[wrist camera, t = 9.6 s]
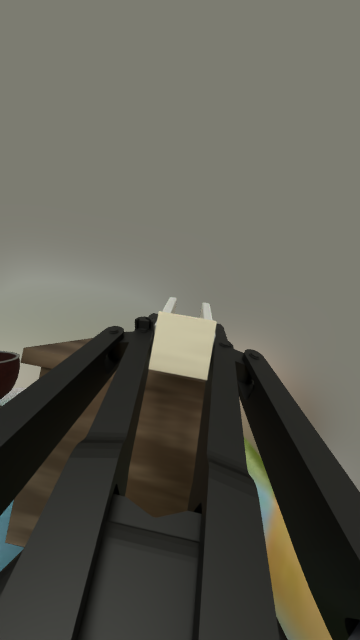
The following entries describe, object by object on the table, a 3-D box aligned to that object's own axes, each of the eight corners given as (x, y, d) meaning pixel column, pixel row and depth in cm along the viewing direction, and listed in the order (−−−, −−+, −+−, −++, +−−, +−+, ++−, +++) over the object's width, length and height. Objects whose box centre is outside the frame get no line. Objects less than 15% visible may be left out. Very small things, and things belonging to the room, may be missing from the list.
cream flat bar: (161, 332, 32) (163, 319, 32) (204, 340, 32) (206, 327, 32) (82, 356, 7) (93, 299, 7) (277, 393, 7) (286, 333, 7)
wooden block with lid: (71, 455, 33) (95, 336, 34) (189, 481, 32) (210, 357, 33) (-23, 564, 18) (24, 345, 19) (194, 619, 17) (232, 385, 18)
